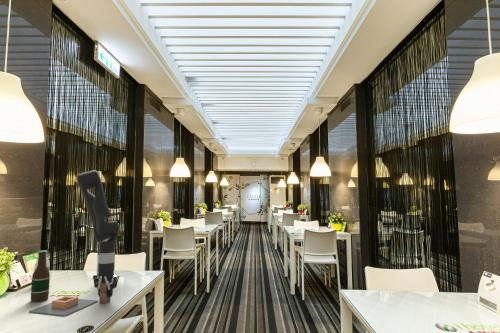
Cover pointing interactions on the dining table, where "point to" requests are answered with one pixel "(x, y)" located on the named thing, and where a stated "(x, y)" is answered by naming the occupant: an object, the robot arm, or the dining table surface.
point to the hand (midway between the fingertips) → (105, 296)
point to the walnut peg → (104, 293)
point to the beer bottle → (40, 280)
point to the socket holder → (63, 306)
